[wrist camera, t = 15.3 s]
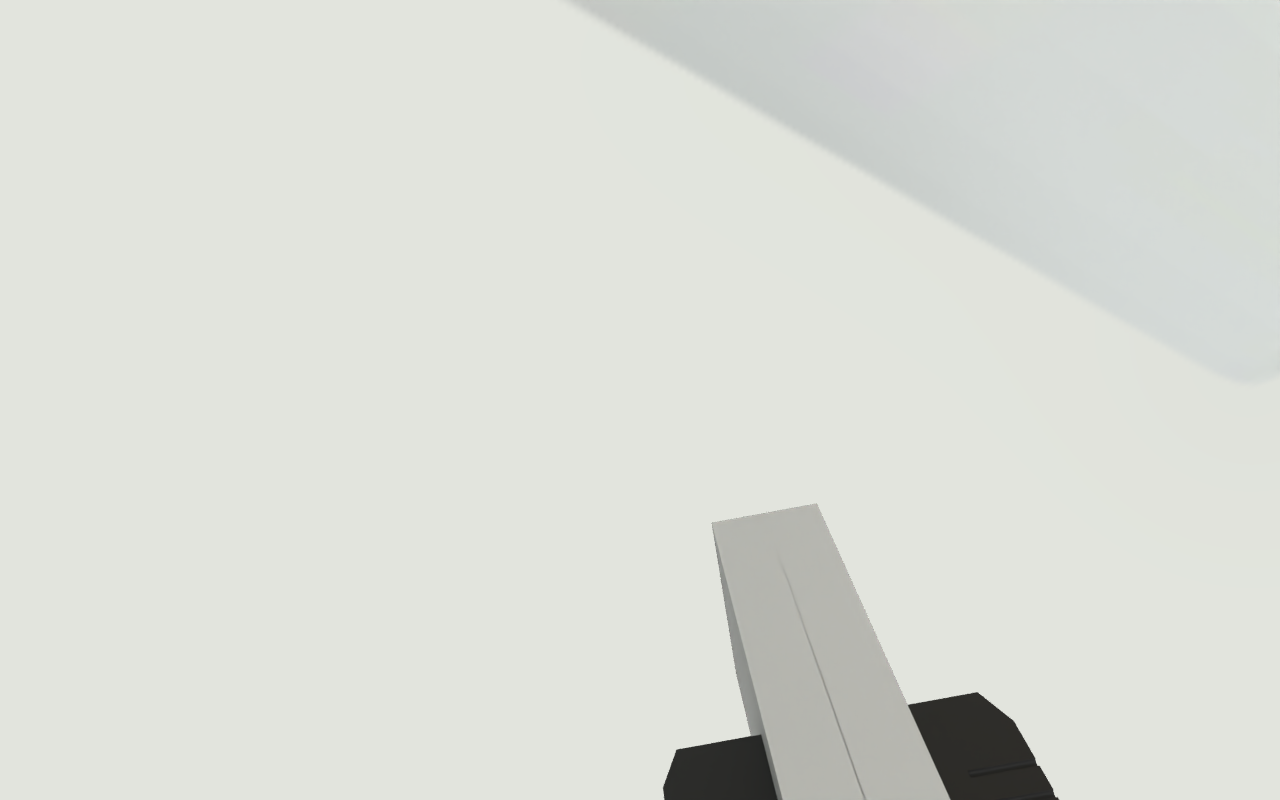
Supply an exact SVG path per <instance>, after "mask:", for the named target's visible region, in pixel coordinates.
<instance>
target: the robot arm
mask: <svg viewBox="0 0 1280 800" xmlns="http://www.w3.org/2000/svg"><path fill="white" fill-rule="evenodd" d="M712 528H713V533H714V540H715V546H716V552H717V558H718V564H719V570H720V577H721V583H722V589H723V594H724V601H725V607H726V614H727V620H728V625H729V632H730V637H731V644H732V650H733V657H734V662H735V669H736V674H737V679H738V683H739V687H740V691H741V695H742V700H743V704H744V708H745V712H746V717H747V721H748V725H749V729H750V733H751V736H749V737H744V738H739V739H733V740H727V741H722V742H716V743H711V744H706V745H700V746H695V747H689V748H683V749H678V750H676V753H675V756H674V759H673V761H672V764H671V767H670V770H669V772H668V775H667V778H666V781H665V784H664V787H663V791H664V799H665V800H1059V799H1058V798H1056V797H1055V795H1054V792H1053V788H1052V787H1051V785H1050V783H1049V781H1048V780H1047V778H1046V776H1045V774H1044V773H1043V771H1042V769H1041V768H1040V766H1037V764H1036V761H1035V757H1034V755H1033V754H1032V752H1031V750H1030V748H1029V747H1028V745H1027V743H1026V742H1025V740H1024V738H1023V736H1022V735H1021V733H1020V731H1019V730H1018V728H1017V726H1016V724H1015V722H1014V721H1013V720H1012V719H1010V718H1009V717H1008V716H1007V715H1005V714H1004V713H1003V712H1001V711H1000V710H999V709H998V708H996V707H995V706H994V705H993V704H991V703H990V702H989V701H988V700H987V699H985V698H984V697H983V696H981V695H980V694H979V693H977V692H976V693H971V694H965V695H960V696H954V697H949V698H943V699H938V700H932V701H927V702H921V703H916V704H910V705H907V703H906V700H905V698H904V696H903V694H902V691H901V689H900V687H899V685H898V683H897V680H896V678H895V676H894V674H893V671H892V669H891V667H890V665H889V663H888V660H887V658H886V656H885V654H884V652H883V649H882V647H881V645H880V643H879V640H878V639H877V636H876V634H875V632H874V629H873V627H872V625H871V623H870V620H869V618H868V616H867V614H866V612H865V609H864V607H863V605H862V603H861V600H860V598H859V596H858V594H857V592H856V589H855V587H854V585H853V583H852V581H851V578H850V576H849V574H848V572H847V570H846V567H845V565H844V563H843V561H842V558H841V556H840V554H839V552H838V550H837V547H836V545H835V543H834V541H833V538H832V536H831V534H830V532H829V530H828V527H827V525H826V523H825V521H824V519H823V516H822V514H821V512H820V510H819V507H818V505H817V504H812V505H807V506H801V507H796V508H790V509H785V510H779V511H774V512H768V513H763V514H757V515H752V516H747V517H741V518H736V519H730V520H725V521H719V522H714V523H712Z"/></svg>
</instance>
